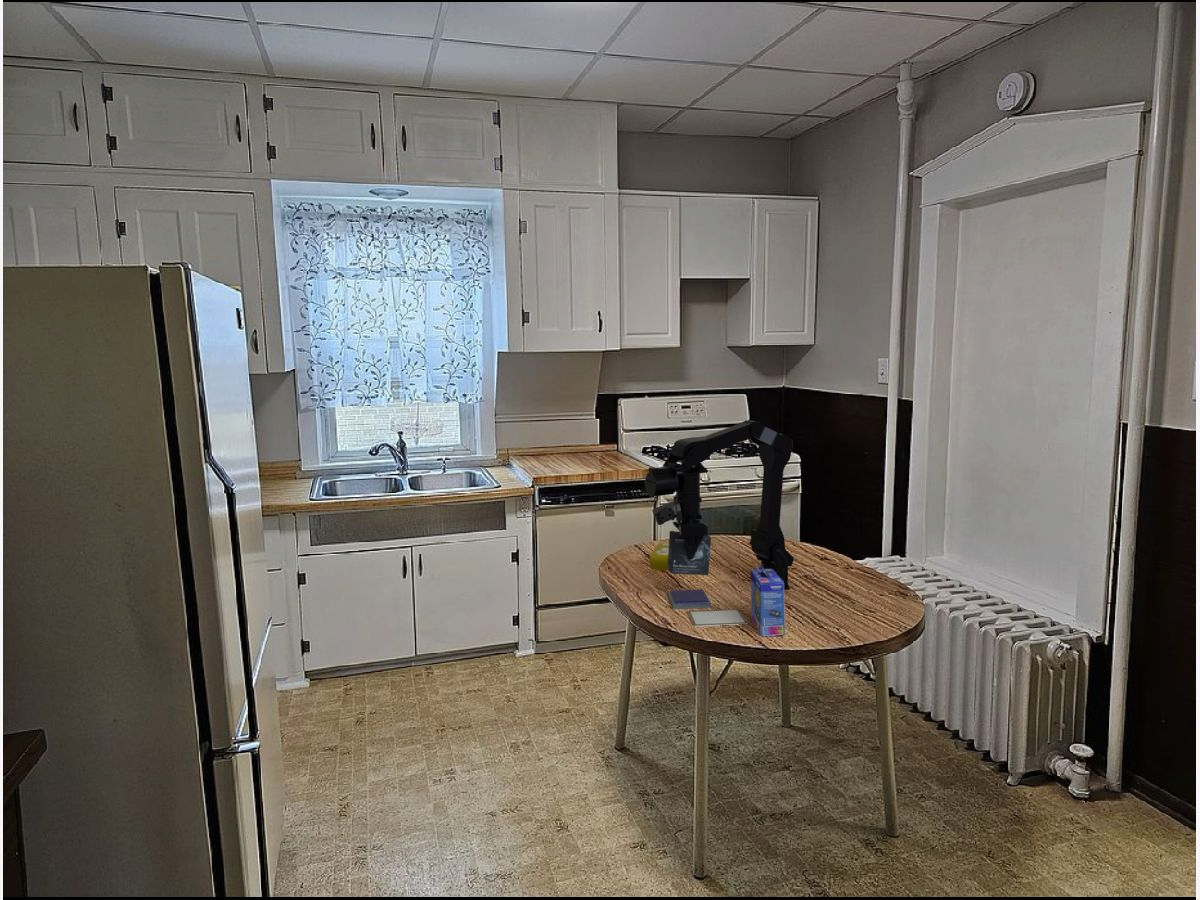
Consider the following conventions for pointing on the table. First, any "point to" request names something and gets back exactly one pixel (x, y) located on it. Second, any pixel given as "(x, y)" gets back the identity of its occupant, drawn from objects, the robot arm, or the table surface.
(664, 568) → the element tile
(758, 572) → the ink cartridge box
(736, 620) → the card
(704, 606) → the ink pad
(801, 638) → the table surface
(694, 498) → the robot arm
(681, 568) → the box
